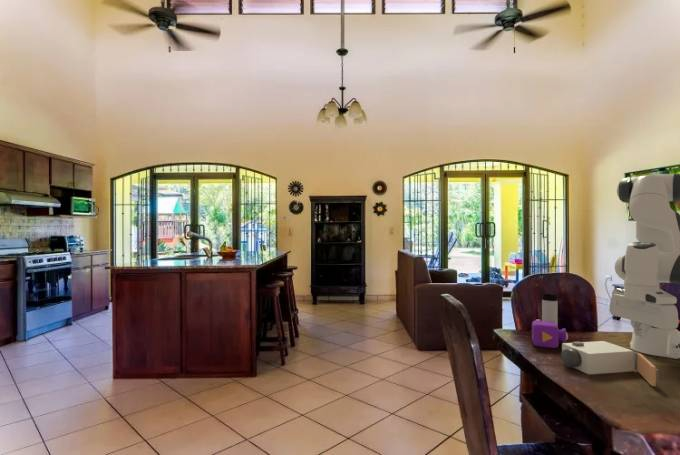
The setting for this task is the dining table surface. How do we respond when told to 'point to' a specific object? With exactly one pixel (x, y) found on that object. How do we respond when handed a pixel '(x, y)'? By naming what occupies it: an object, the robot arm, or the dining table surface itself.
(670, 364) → the dining table surface
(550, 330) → the toy camera
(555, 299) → the travel mug
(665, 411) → the dining table surface
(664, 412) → the dining table surface
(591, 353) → the white projector
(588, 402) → the dining table surface
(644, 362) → the side door
